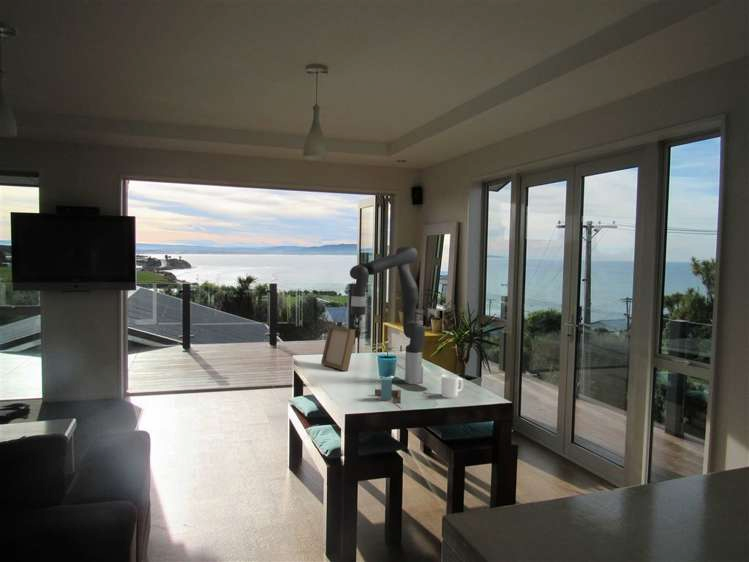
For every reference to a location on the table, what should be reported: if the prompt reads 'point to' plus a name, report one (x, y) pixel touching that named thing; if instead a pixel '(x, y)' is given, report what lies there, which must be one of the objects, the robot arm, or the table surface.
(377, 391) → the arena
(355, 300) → the robot arm
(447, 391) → the cup
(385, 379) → the teal block
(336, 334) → the photo frame
